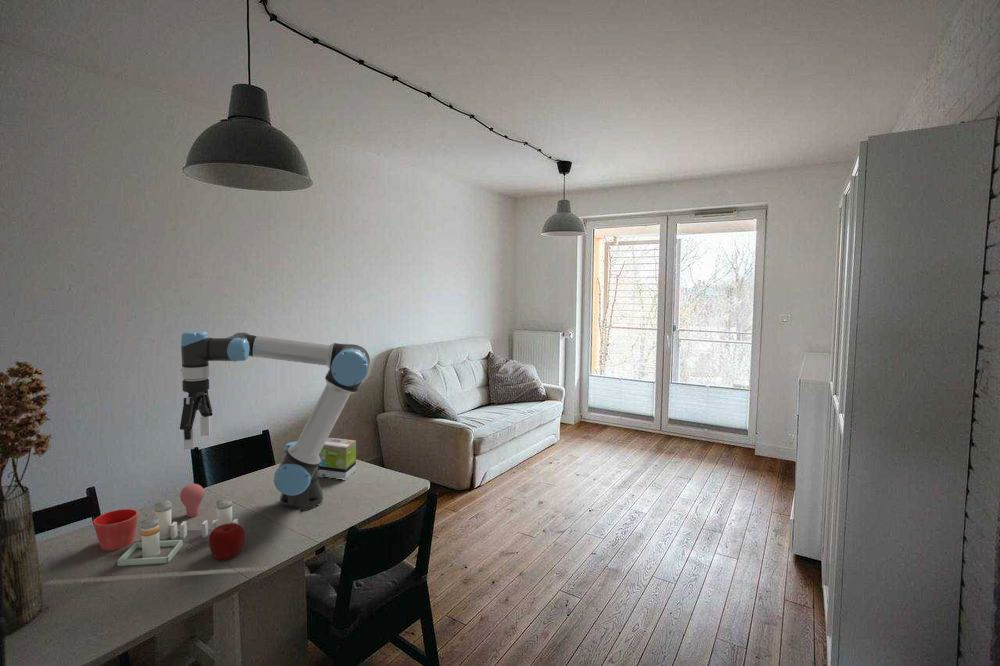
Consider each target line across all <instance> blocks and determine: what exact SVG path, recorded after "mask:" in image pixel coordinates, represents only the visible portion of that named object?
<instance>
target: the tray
mask: <svg viewBox="0 0 1000 666" xmlns="http://www.w3.org/2000/svg"><path fill="white" fill-rule="evenodd" d="M182 546H184V543H183V540H168V541H160V548H162V547H163V548H165V547H173V549H172V550H171V551H170V552H169V553H168V555H167V556H157V557H154V558H142V557H140V558H139V557H138V558H129V557H130V555H132V554H133V553H134V552H135V550H137V549H142V541H135V542H134V543H133V544H132V545H131V546H130V547H129V548H128V549H127V550H126V551H125V552H124V553H123V554H122V555H121V556H120V557H119V558H118V559H117V560H116V564H117V565H116V567H117V566H118V567H119V566H121V567H122V566H137V565H152V564H153V565H157V564H169V563H170V561H172V559H173V558H174V556H175V555H176V554H177V553H178V552H179V550H180V549H181V548H182Z"/></svg>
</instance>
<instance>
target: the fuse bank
mask: <svg viewBox="0 0 1000 666" xmlns="http://www.w3.org/2000/svg"><path fill="white" fill-rule="evenodd" d="M171 523H172V524H171V525H170V532H171V538H170V539H168V540H183V544H188V543H189V544H190V543H191V544H192V543H193V544H194V543H206V542H207V543H209V536H210V534H211V532H212V531H213V530H214V529H215V528H216V527H217V519H214V520H212V522H211V523H210V526H211V528H210V529H209V520H205V519H204V521H202V523H201V529H193V530H191V529H190V530H189V529H188V525H187V524H188V521H187V520H184V521H182V522H181V524H180V525H179V530H178V522H177V521H173V522H171ZM232 523H235V524H238V525H239V518H234V519H233V522H232ZM168 540H165V541H168Z"/></svg>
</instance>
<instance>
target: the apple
mask: <svg viewBox="0 0 1000 666" xmlns="http://www.w3.org/2000/svg"><path fill="white" fill-rule="evenodd" d="M245 535H246V532H245V530H244V527H243V526H241V525H240V524H239V523H238V524H235V523H229V524H224V525H221V526H218V527H216V528H215V529H214V530H213V531H212V532H211V534H210V536H209V542H208V546H209V549H210V552H211V554H212V556H213V557H214V558H215V559H216V560H218V561H228V560H232V559H233V558H235V557H237V556H238V555H239V554H240V552H241V551H242V548H243V547H244V544H245V539H246V536H245Z"/></svg>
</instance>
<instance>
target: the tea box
mask: <svg viewBox="0 0 1000 666" xmlns="http://www.w3.org/2000/svg"><path fill="white" fill-rule="evenodd" d="M319 456H320V459H321V461H320V463H319V465H318V478H323V477H330V478H329V479H331V478H346V477H348V476H349V475H350V474H351V473H352V472H353V471H355V470H356V471H357V469H356V468H357V465H356V464H357V440H354V439H347V438H336V437H329V436H328V438H327V440H326V442H325V444H324V446H323V448H322V450H321V452H320V454H319Z"/></svg>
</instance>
